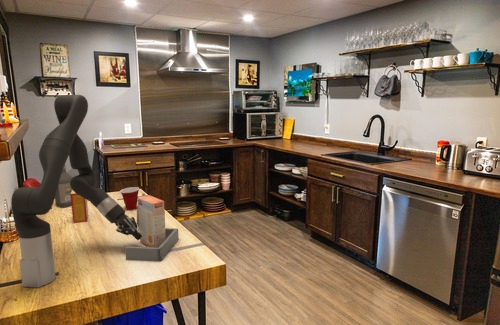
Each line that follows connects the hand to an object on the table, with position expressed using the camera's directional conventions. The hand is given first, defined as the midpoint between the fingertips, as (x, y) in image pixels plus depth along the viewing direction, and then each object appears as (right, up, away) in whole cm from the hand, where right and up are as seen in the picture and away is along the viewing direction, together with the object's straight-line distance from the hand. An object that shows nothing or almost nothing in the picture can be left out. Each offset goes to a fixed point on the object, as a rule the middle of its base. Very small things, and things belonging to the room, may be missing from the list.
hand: (140, 238), depth 145 cm
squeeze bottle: (-5, -1, +23) cm, 24 cm away
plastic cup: (-24, +5, +56) cm, 61 cm away
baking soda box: (-44, +2, +37) cm, 57 cm away
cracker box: (+4, -4, +4) cm, 7 cm away
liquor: (-66, +6, +64) cm, 92 cm away
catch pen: (+6, -4, 0) cm, 7 cm away
